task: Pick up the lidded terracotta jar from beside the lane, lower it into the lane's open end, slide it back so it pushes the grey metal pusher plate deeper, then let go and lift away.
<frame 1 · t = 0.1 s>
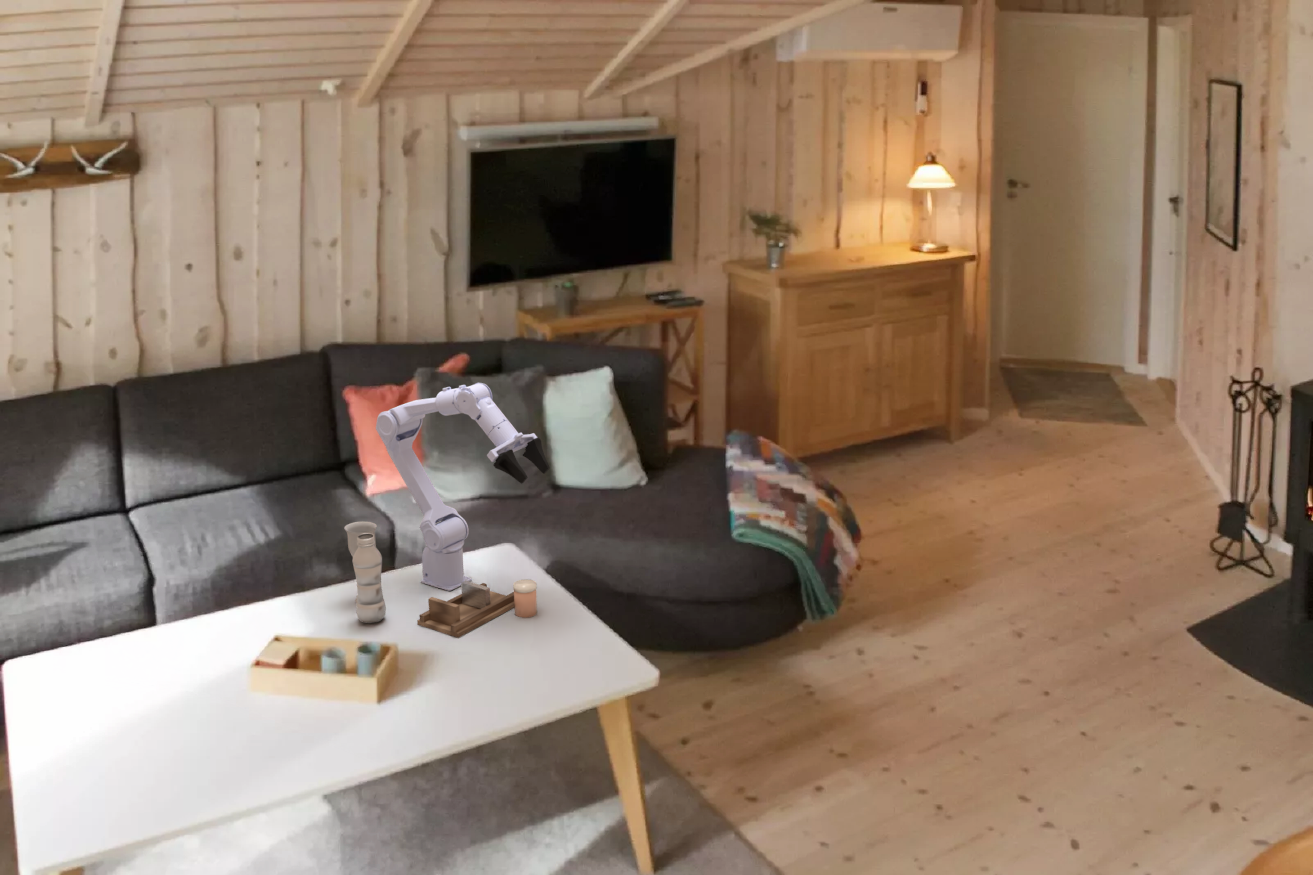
hand: (535, 475, 289), 32 cm above the table, tool tilted 50°, fingers open, 7 cm apart
jar: (525, 612, 297), on the table
chalice: (366, 600, 304), on the table
pusher plate: (475, 595, 297), point 4 cm above the table, slide at 0.0 cm
plastic bottle: (371, 621, 293), on the table
lane: (469, 614, 296), on the table
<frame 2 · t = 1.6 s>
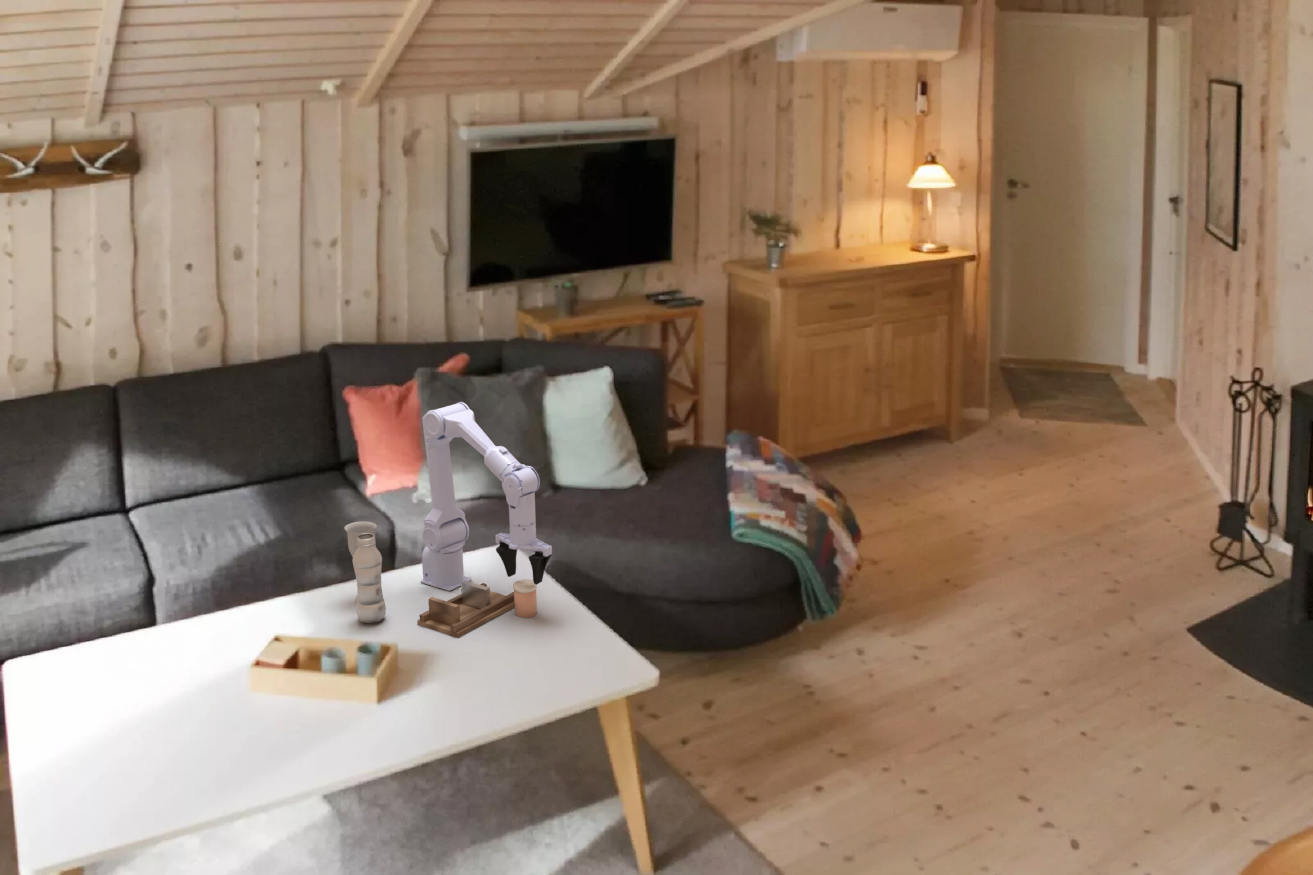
hand: (524, 578, 294), 8 cm above the table, tool pointing down, fingers open, 7 cm apart
nothing on the table moved.
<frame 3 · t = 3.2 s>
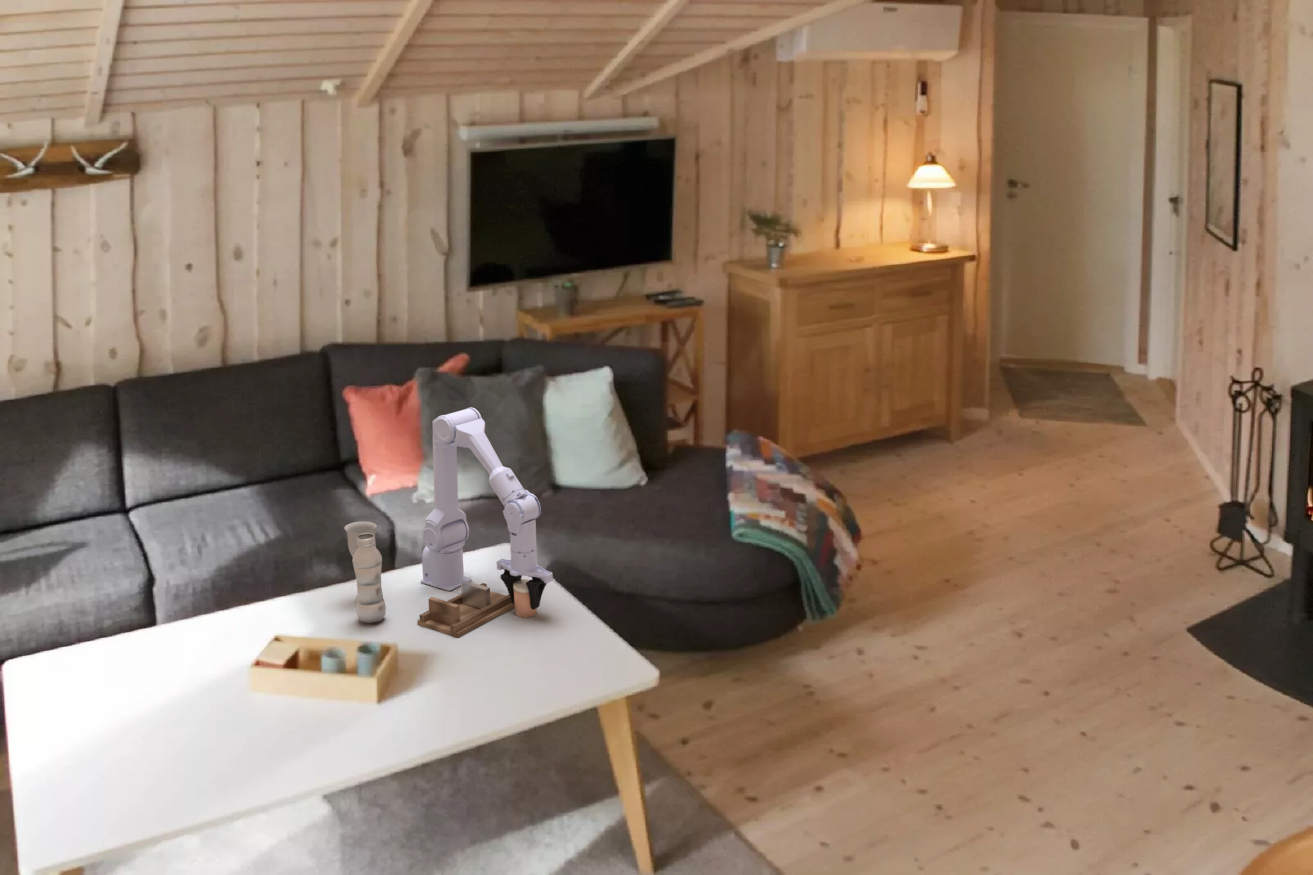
hand: (525, 604, 296), 2 cm above the table, tool pointing down, fingers closed on jar, 5 cm apart
jar: (525, 612, 297), on the table, touching gripper
everything else where it was.
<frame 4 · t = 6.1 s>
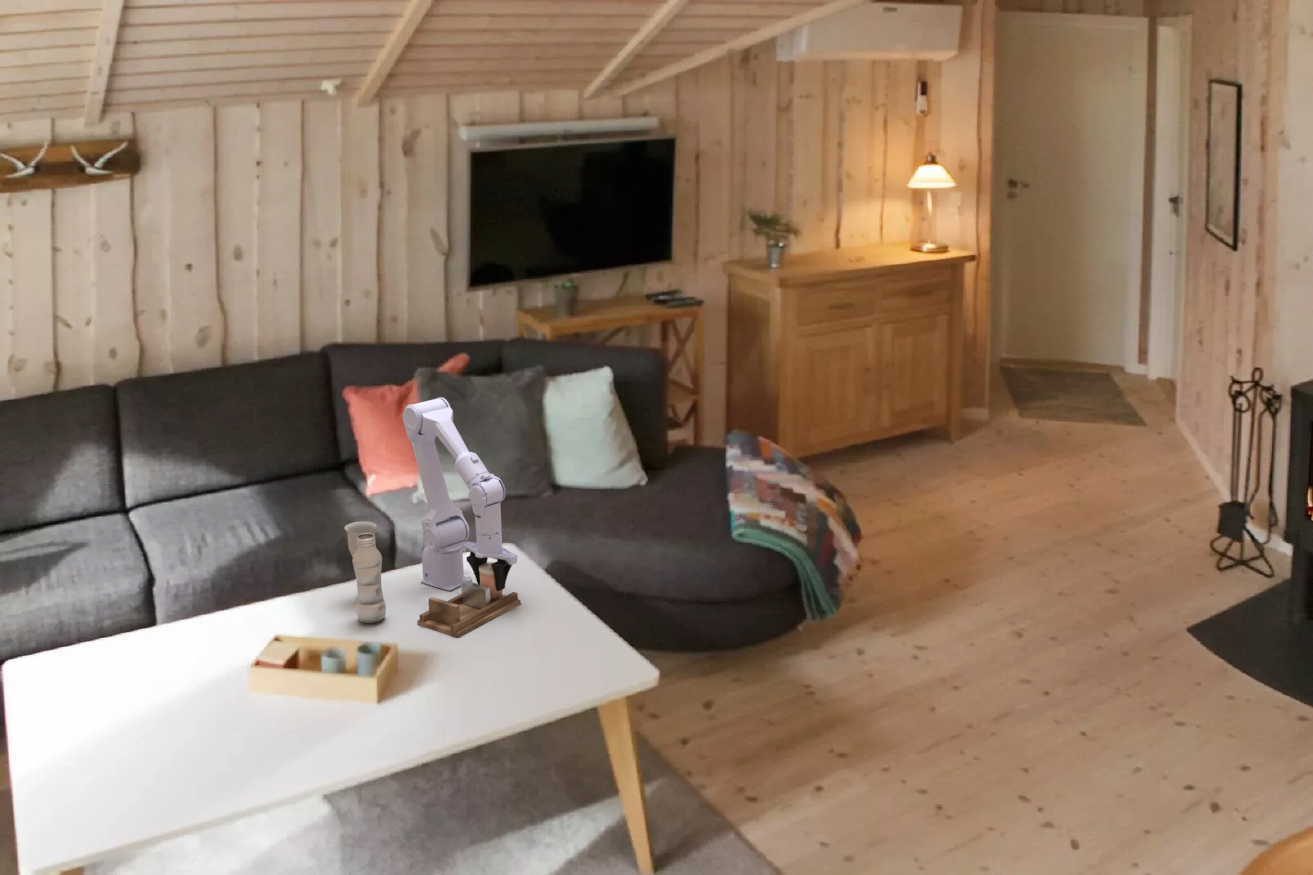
hand: (491, 586, 301), 4 cm above the table, tool pointing down, fingers closed on jar, 5 cm apart
jar: (491, 594, 302), point 2 cm above the table, touching gripper
everything else where it was.
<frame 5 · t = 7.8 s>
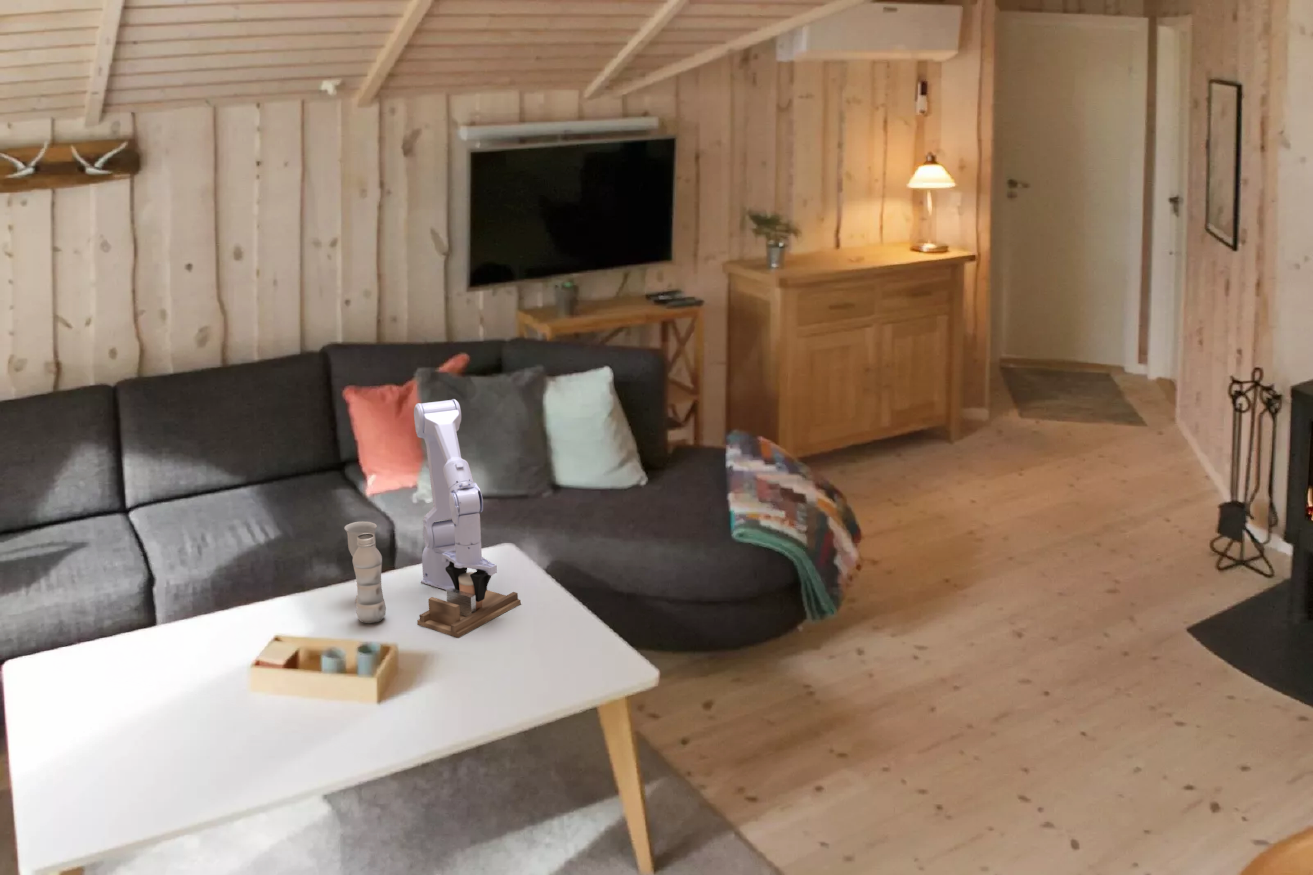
hand: (470, 597, 295), 4 cm above the table, tool pointing down, fingers closed on jar, 5 cm apart
jar: (471, 605, 296), point 2 cm above the table, touching gripper, pusher plate
pusher plate: (461, 602, 293), point 4 cm above the table, slide at 4.8 cm, touching jar
everything else where it was.
when the fingers open (4 cm above the table, at t = 9.2 s): jar stays where it is, resting on lane.
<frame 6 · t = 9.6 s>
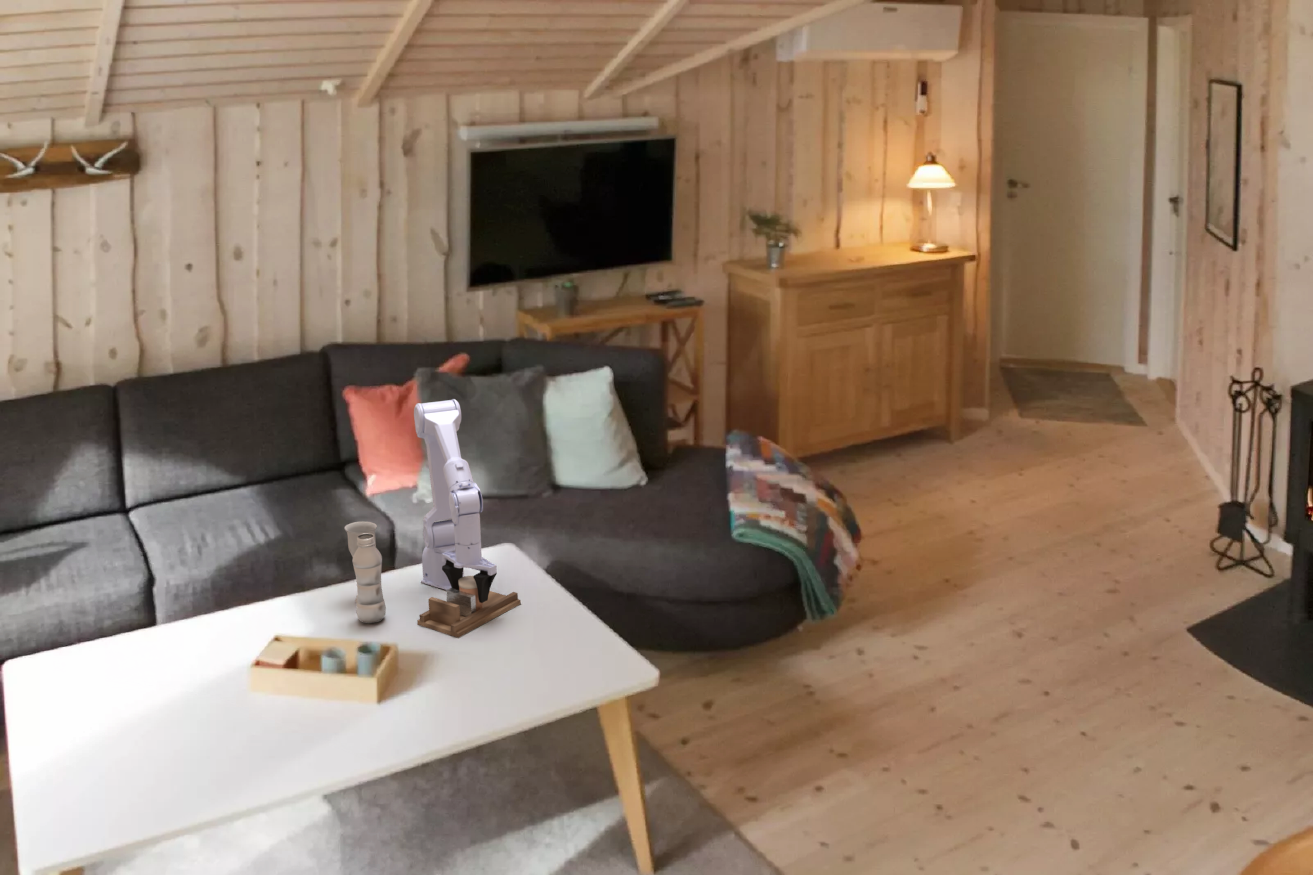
hand: (470, 597, 295), 4 cm above the table, tool pointing down, fingers open, 7 cm apart
jar: (471, 608, 296), point 1 cm above the table, touching lane
pusher plate: (461, 603, 293), point 4 cm above the table, slide at 4.9 cm
everything else where it was.
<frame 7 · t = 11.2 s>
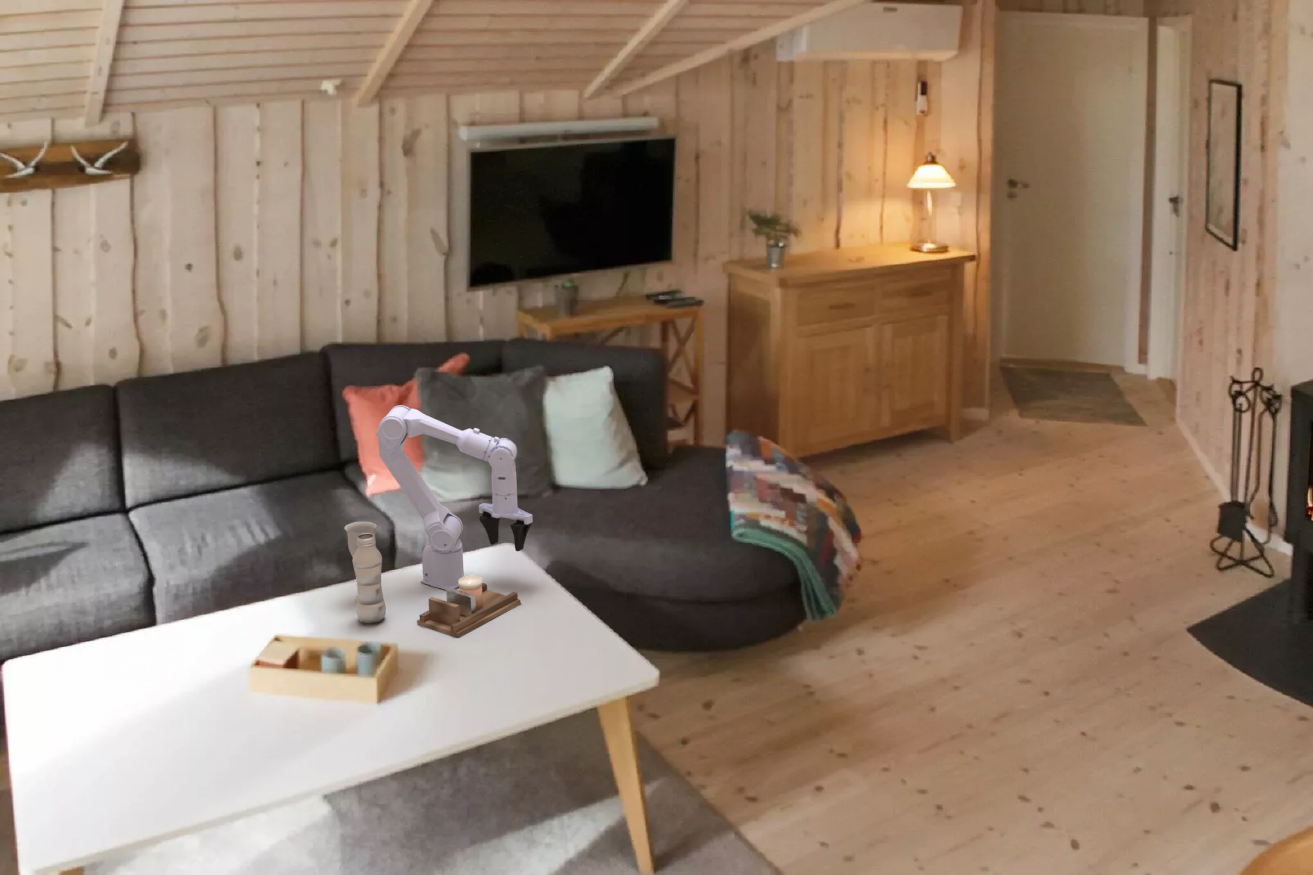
hand: (506, 546, 310), 9 cm above the table, tool pointing down, fingers open, 7 cm apart
nothing on the table moved.
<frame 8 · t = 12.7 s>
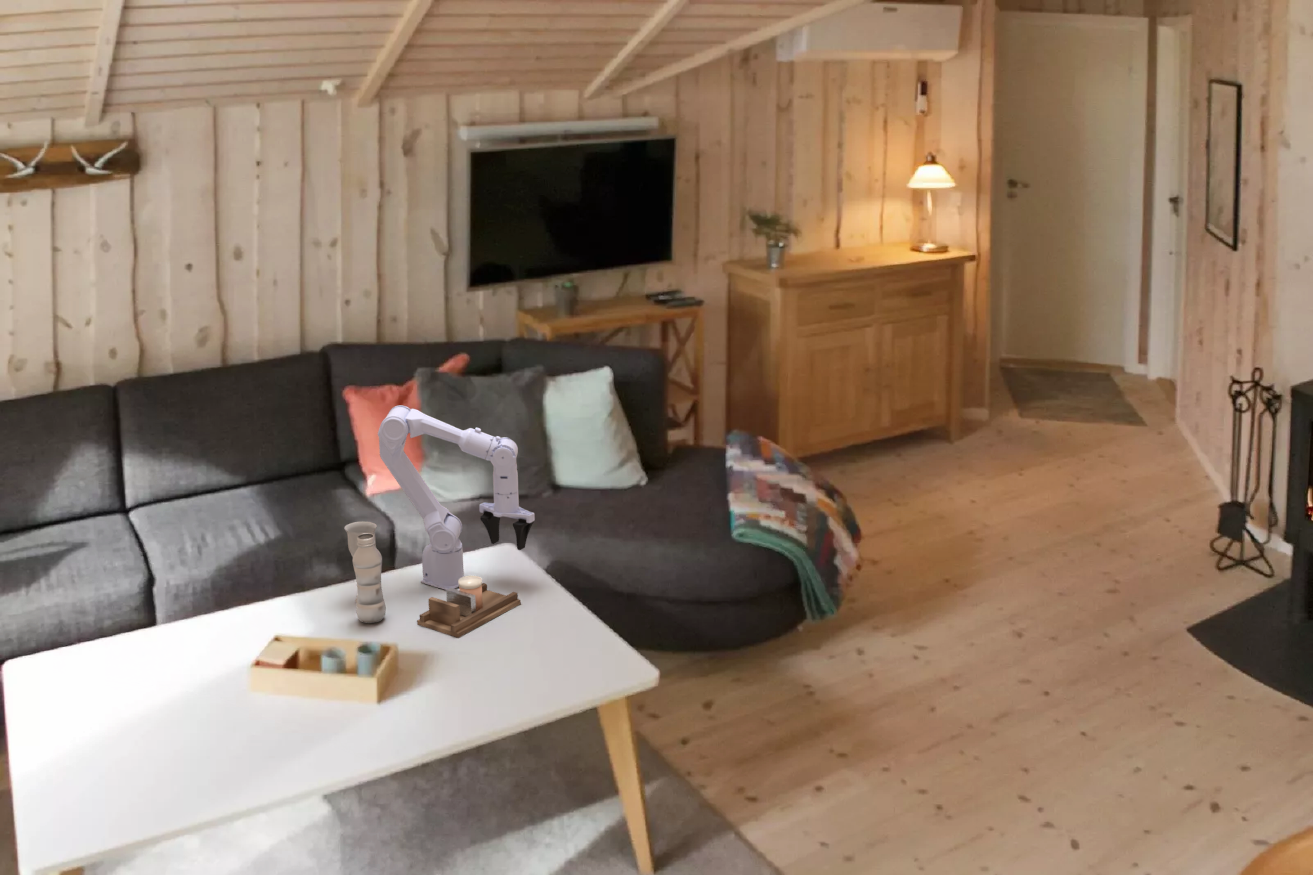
hand: (508, 545, 310), 9 cm above the table, tool pointing down, fingers open, 7 cm apart
nothing on the table moved.
at the end: pusher plate slide at 4.9 cm; jar 0.3 cm from the target spot, point 1.0 cm above the table; jar tilted 0° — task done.
